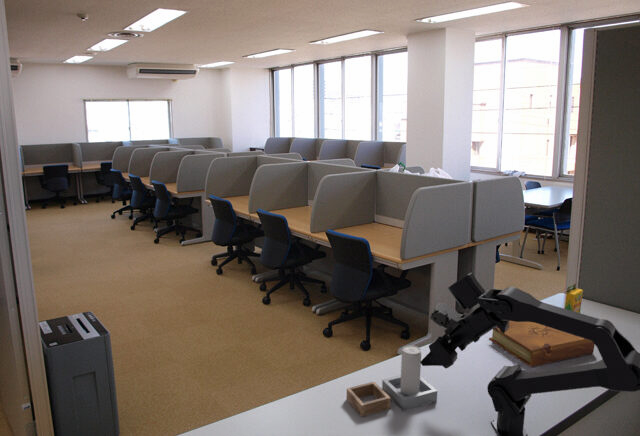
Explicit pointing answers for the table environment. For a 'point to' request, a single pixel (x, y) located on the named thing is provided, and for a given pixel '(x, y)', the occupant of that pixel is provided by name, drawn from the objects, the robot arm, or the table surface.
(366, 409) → the wooden frame
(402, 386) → the beverage can
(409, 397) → the tray
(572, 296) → the crayon box
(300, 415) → the table surface
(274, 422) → the table surface
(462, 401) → the table surface
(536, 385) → the robot arm
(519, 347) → the diary
